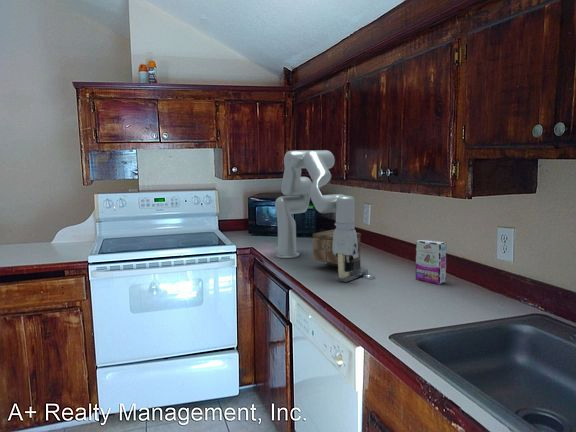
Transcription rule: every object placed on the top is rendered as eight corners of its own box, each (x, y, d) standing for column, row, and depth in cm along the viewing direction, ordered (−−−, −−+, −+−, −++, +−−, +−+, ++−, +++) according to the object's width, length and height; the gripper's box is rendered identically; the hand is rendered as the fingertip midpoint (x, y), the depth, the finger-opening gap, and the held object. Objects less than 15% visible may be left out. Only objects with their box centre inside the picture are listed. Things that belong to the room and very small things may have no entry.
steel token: (363, 280, 179) (363, 276, 179) (362, 276, 184) (362, 273, 184) (375, 279, 179) (375, 276, 179) (374, 276, 184) (374, 273, 184)
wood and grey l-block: (337, 280, 177) (336, 253, 175) (360, 271, 188) (359, 246, 186) (344, 282, 174) (344, 254, 172) (368, 273, 185) (367, 247, 183)
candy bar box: (446, 282, 172) (447, 242, 170) (439, 285, 168) (440, 243, 166) (421, 277, 180) (422, 238, 178) (414, 279, 177) (415, 240, 175)
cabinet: (311, 268, 199) (311, 234, 197) (333, 262, 210) (333, 229, 208) (339, 274, 187) (339, 238, 185) (361, 267, 198) (361, 233, 196)
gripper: (324, 225, 178) (324, 269, 180) (355, 229, 166) (355, 275, 169) (335, 223, 183) (336, 265, 185) (367, 227, 172) (367, 272, 174)
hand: (345, 270), depth 177 cm, fingers closed on wood and grey l-block, 2 cm apart
